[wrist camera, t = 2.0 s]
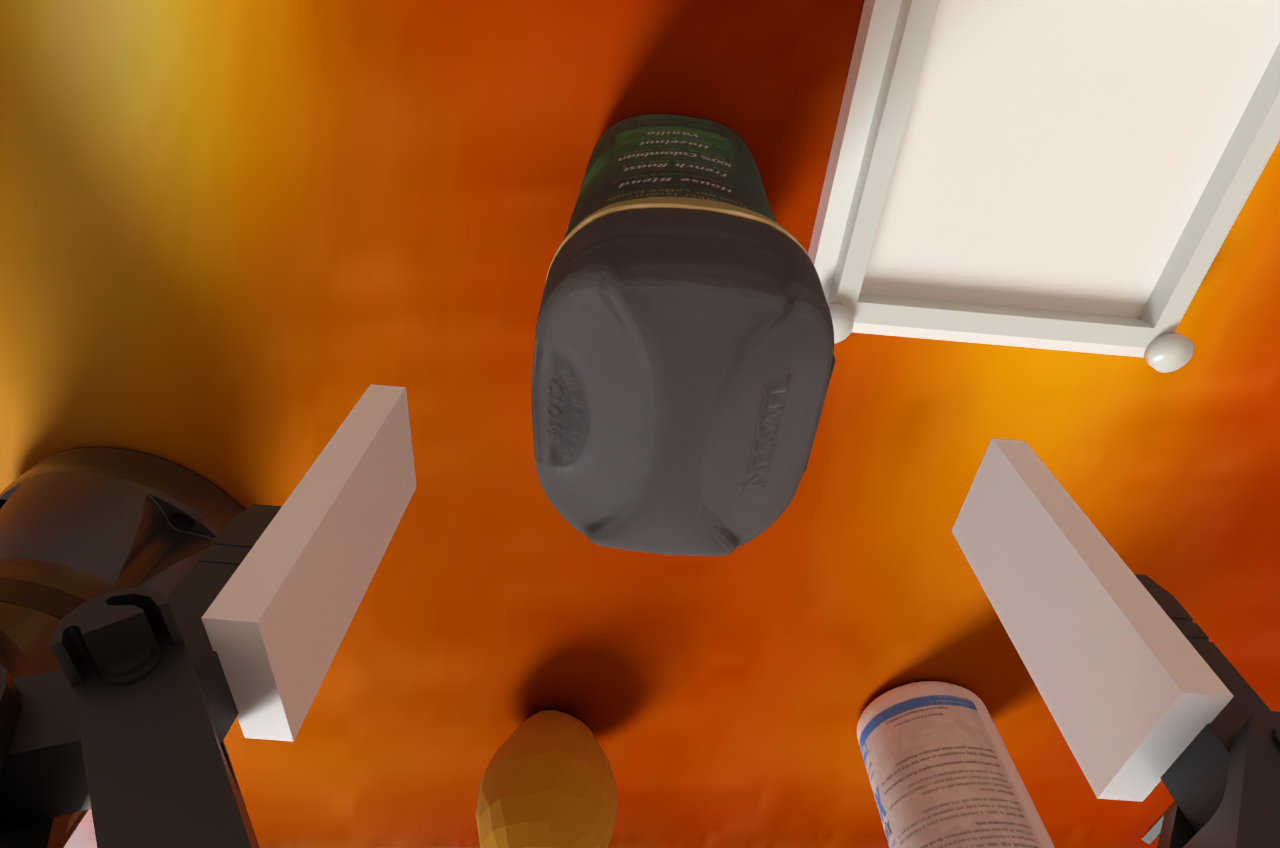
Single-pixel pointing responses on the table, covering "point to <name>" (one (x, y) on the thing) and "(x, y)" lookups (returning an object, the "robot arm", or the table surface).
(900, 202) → the white square tray
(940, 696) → the supplement tub
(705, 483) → the coffee jar
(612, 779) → the apple
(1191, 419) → the table surface
